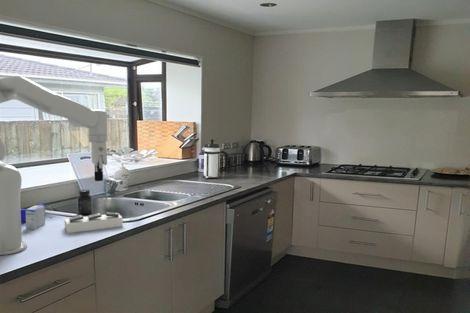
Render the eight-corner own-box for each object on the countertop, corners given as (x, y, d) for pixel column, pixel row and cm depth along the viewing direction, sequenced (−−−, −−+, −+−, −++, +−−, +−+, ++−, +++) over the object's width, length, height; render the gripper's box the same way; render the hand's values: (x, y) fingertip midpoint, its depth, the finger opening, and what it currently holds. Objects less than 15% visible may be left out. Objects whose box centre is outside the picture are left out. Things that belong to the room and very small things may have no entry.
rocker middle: (89, 220, 169) (88, 217, 169) (87, 218, 172) (87, 215, 172) (101, 216, 172) (101, 214, 172) (100, 215, 174) (99, 212, 174)
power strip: (67, 233, 165) (67, 223, 164) (64, 227, 172) (64, 218, 171) (122, 226, 176) (122, 217, 176) (118, 221, 183) (118, 212, 182)
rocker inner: (70, 222, 166) (70, 219, 165) (69, 220, 168) (69, 217, 168) (83, 218, 168) (82, 216, 168) (82, 216, 171) (81, 214, 171)
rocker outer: (106, 216, 173) (107, 213, 173) (105, 214, 176) (105, 212, 176) (118, 216, 176) (118, 214, 175) (116, 214, 178) (117, 212, 178)
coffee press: (214, 180, 292) (215, 140, 288) (197, 178, 300) (198, 139, 297) (227, 177, 306) (228, 139, 303) (211, 175, 315) (212, 138, 311)
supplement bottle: (74, 214, 192) (73, 190, 191) (84, 211, 198) (84, 188, 197) (84, 216, 189) (84, 192, 188) (95, 213, 196) (94, 189, 194)
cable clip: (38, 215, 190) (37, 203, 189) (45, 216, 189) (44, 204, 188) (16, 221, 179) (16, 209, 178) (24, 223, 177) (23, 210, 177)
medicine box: (35, 223, 176) (35, 205, 175) (45, 224, 176) (44, 205, 175) (25, 229, 168) (25, 209, 167) (36, 229, 168) (35, 209, 167)
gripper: (110, 139, 164) (111, 183, 166) (103, 137, 177) (104, 177, 179) (92, 140, 160) (93, 184, 163) (85, 137, 173) (86, 178, 175)
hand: (98, 180), depth 171 cm, fingers closed
